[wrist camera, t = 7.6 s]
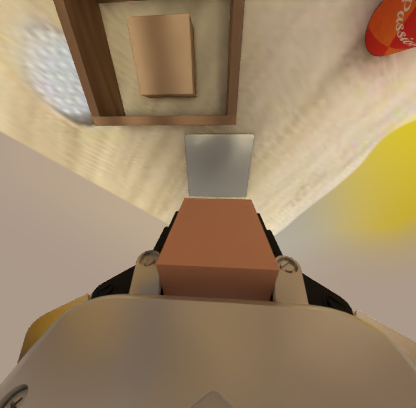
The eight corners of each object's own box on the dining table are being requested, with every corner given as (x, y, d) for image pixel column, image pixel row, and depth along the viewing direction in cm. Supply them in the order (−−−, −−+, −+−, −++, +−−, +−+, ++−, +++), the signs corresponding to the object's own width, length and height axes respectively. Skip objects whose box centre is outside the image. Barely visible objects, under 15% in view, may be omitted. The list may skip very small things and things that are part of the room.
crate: (240, -20, 17) (250, -83, 11) (231, 123, 24) (235, 124, 18) (86, -10, 18) (32, -64, 13) (121, 124, 25) (95, 125, 19)
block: (251, 199, 11) (279, 270, 6) (243, 248, 14) (259, 329, 8) (184, 198, 11) (155, 264, 6) (189, 246, 14) (171, 322, 9)
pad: (253, 133, 24) (254, 134, 23) (245, 195, 30) (246, 197, 29) (185, 134, 25) (184, 134, 24) (190, 194, 30) (189, 196, 29)
